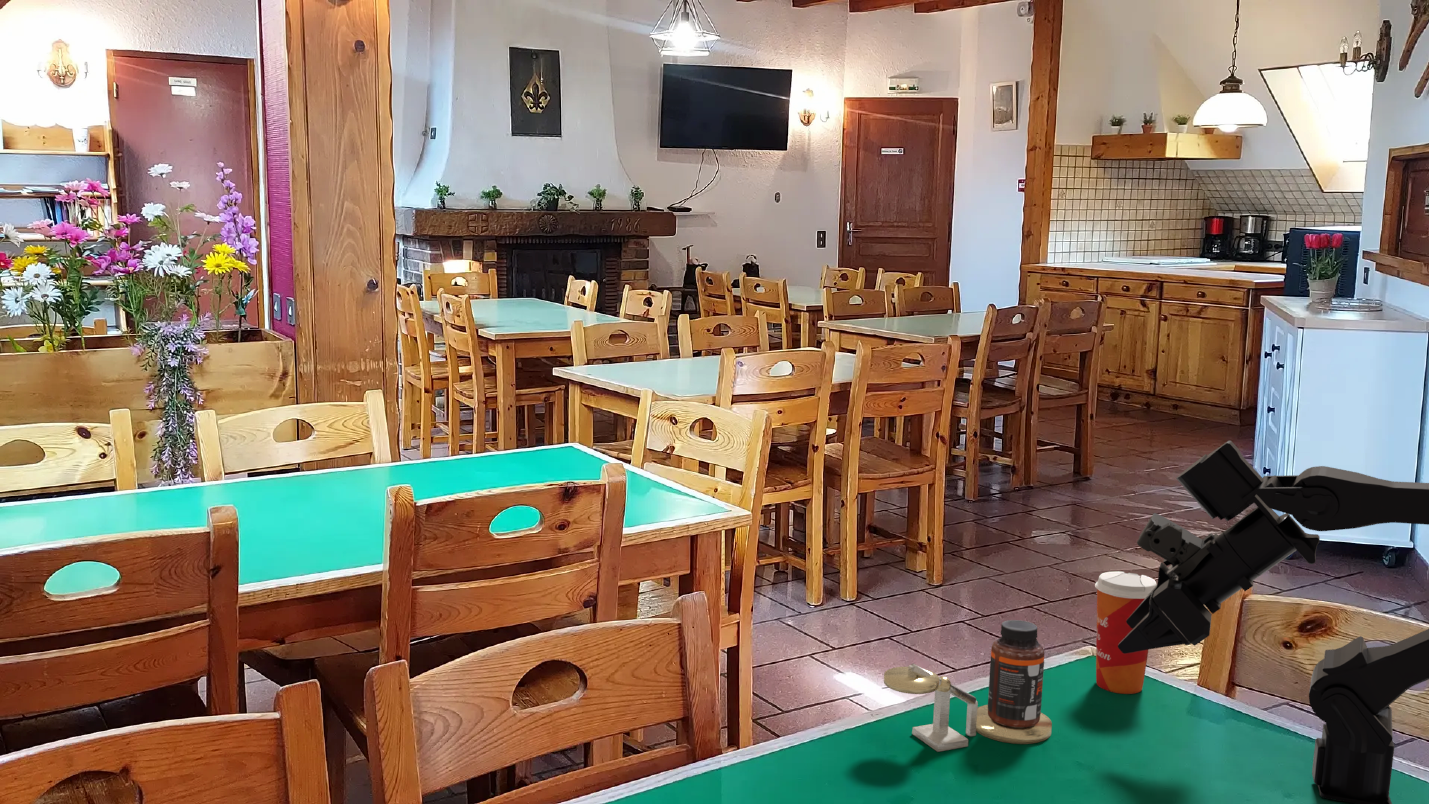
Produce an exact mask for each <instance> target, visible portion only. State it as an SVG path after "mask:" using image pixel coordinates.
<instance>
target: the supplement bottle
mask: <svg viewBox="0 0 1429 804" xmlns="http://www.w3.org/2000/svg"><path fill="white" fill-rule="evenodd" d="M1000 626H1001V628H1000V635H1001V636H1000V637H998V638H996V639H995V640H994V642H993V643H992V644H991V649H990V661H989V662H990V664H989V679H988V681H989V682H988V694H987V696H988V698H987V699H988V700H987V705H988V715H989V717H990V718H991V719H992V720H993V721H995V722H996V723H998V724H1000V725H1004V726H1009V727H1016V728H1027V727H1031V726H1034V725H1036V724H1037V723H1038V722H1039V720H1040V714H1041V713H1042V712H1041V711H1042V701H1043V700H1042V699H1043V683H1044V670H1045V669H1044V668H1045V649H1044V647H1043V645H1042V644H1040V643H1039V641H1038V626H1037V625H1036V624H1034V623H1032V622H1030V621H1026V620H1020V619H1011V620H1010V619H1008V620H1005V621H1002V622H1001V625H1000Z"/></svg>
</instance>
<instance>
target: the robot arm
mask: <svg viewBox="0 0 1429 804" xmlns="http://www.w3.org/2000/svg"><path fill="white" fill-rule="evenodd" d="M1175 479H1176V480H1177V482H1179V483H1180V485H1181V486H1182V487H1183V488H1184V489H1185V491H1186V492H1187V493H1188V494H1189V495H1190V496H1191V497H1192V498H1193V500H1194V501H1195V502H1196V503H1197V504H1198V505H1199V506H1200V507H1201V508H1202V509H1203V511H1204V512H1205V513H1206V514H1207V515H1208V516H1209V517H1210V519H1211V520H1213V519H1216V518H1218V520H1220V521H1222V520H1224V519H1225V521H1226V522H1229V521H1231V520H1233V519H1234V518H1236V517H1237V516H1238V515H1240V514H1241V513H1242V512H1244V511H1245V510H1246V509H1248V508H1249V507H1251V505H1253V504H1255V505H1256V506H1257V507H1256V508H1254V509H1253V510H1252V511H1250V512H1249V513H1247V514H1246V515H1245V516H1243V517H1241V518H1240V519H1239V520H1238V521H1237V522H1235V523H1233V524H1232V525H1231V526H1229V527H1228V528H1227V529H1225V530H1224V531H1222V532H1221V533H1219V534H1218V533H1217V532H1215V533H1214V534H1213V533H1212V532H1211V533H1209V534H1208V535H1206V536H1205V537H1204V538H1201V537H1199V536H1197V535H1195V534H1193V533H1192V532H1191V531H1190V530H1188V529H1186V528H1184V527H1183V526H1181V525H1179V524H1177V523H1175V522H1173V521H1172V520H1170V519H1168V518H1167V517H1165V516H1163V515H1161V514H1159V513H1156V512H1155V513H1154V512H1153V514H1152V515H1151V517H1150V519H1149V520H1148V522H1147V523H1146V525H1145V527H1144V528H1143V529H1142V531H1141V532H1140V535H1139V536H1138V540H1137V541H1136V544H1137V546H1138V547H1140V548H1142V549H1143V550H1145V551H1146V552H1152V553H1153V554H1155V555H1157V556H1159V557H1160V558H1162V559H1163V561H1162V562H1160V564H1159V568H1158V572H1157V573H1158V575H1157V583H1156V584H1157V585H1156V586H1155V588H1154V589H1153V590H1152V591H1151V592H1150V593H1149V595H1148V596H1147V597H1146V598H1145V599H1144V600H1143V602H1142V603H1141V604H1140V605H1139V606H1138V607H1137V608H1136V610H1135V611H1134V612H1133V613H1132V614H1131V615H1130V616H1129V618H1128V619H1127V620H1126V623H1127V624H1128V625H1129V626H1130V627H1131V628H1133V629H1132V630H1131V631H1130V632H1129V633H1128V634H1127V636H1126V637H1125V638H1124V639H1123V640H1122V641H1121V642H1120V643H1119V644H1118V648H1119V649H1120V650H1121V652H1122V653H1124V654H1126V653H1132V652H1138V651H1143V650H1148V651H1149V650H1154V649H1159V648H1160V649H1161V648H1167V647H1174V646H1181V645H1184V646H1189V645H1192V646H1197V645H1198V644H1199V643H1201V642H1202V641H1204V640H1205V639H1207V638H1208V637H1210V635H1211V627H1212V626H1211V625H1212V624H1211V623H1212V615H1213V614H1215V613H1217V612H1218V611H1220V610H1221V606H1222V603H1223V602H1225V601H1226V600H1227V599H1229V598H1231V597H1232V596H1233V595H1235V594H1236V593H1238V592H1239V591H1241V590H1243V591H1244V592H1247V591H1248V590H1249V589H1251V588H1253V587H1254V581H1255V580H1256V579H1258V578H1259V577H1260V576H1262V575H1263V574H1265V573H1266V572H1268V571H1269V570H1271V569H1272V568H1274V567H1275V566H1276V565H1278V564H1279V563H1281V562H1282V561H1283V560H1285V559H1286V558H1288V557H1289V556H1291V555H1292V554H1293V553H1295V552H1296V551H1297V552H1298V553H1299V554H1300V556H1301V557H1302V558H1303V559H1304V560H1305V561H1306V563H1308V564H1309V565H1313V564H1315V563H1316V559H1317V558H1316V557H1317V556H1316V552H1317V547H1318V545H1319V543H1320V535H1319V534H1316V533H1315V534H1311V533H1307V532H1305V531H1304V530H1303V528H1305V529H1307V530H1310V531H1315V532H1330V531H1340V530H1352V529H1359V528H1364V527H1368V526H1370V527H1371V526H1375V525H1381V524H1390V523H1391V524H1393V523H1396V524H1413V525H1427V526H1429V482H1415V481H1414V482H1413V481H1395V480H1394V481H1393V480H1388V479H1382V478H1378V477H1375V476H1371V475H1368V474H1363V473H1360V472H1357V471H1352V470H1351V471H1350V470H1345V469H1341V468H1337V467H1332V466H1326V465H1318V466H1312V467H1308V468H1305V470H1303V471H1302V472H1301V473H1299V474H1296V475H1294V474H1293V475H1265V476H1261V475H1260V474H1259V472H1258V471H1257V470H1256V469H1255V468H1254V467H1253V466H1252V464H1250V463H1249V461H1248V460H1247V459H1246V457H1244V456H1243V454H1242V453H1241V451H1240V449H1239V447H1238V446H1236V445H1235V443H1233V441H1232V440H1227V441H1226V442H1224V443H1223V444H1222V445H1221V446H1219V447H1217V448H1215V449H1214V450H1213V451H1212V452H1210V453H1209V454H1207V453H1206V454H1204V455H1203V456H1201V457H1200V458H1199V459H1197V460H1196V461H1195V462H1194V463H1192V464H1191V465H1190V466H1188V467H1187V468H1186V469H1185V470H1183V471H1182V472H1181V473H1180V474H1179V475H1178V476H1177V477H1175ZM1275 511H1277V512H1281V513H1283V514H1281V515H1279V514H1278V513H1277V512H1275ZM1295 520H1296V521H1295ZM1297 522H1298V523H1299V524H1298V523H1297ZM1300 525H1301V526H1302V527H1303V528H1302V527H1301V526H1300ZM1426 681H1429V628H1428V629H1425V630H1423V631H1420V632H1418V633H1416V634H1413V635H1412V636H1409V637H1407V638H1404V639H1402V640H1400V641H1397V642H1394V643H1392V644H1389V645H1385V646H1376V647H1375V646H1373V647H1368V646H1367V643H1366V641H1365V639H1364V637H1363V636H1358V637H1356V638H1354V639H1352V640H1350V642H1348V643H1347V644H1345V645H1343V646H1342V647H1338V648H1335V649H1333V648H1332V649H1325V651H1324V655H1323V659H1320V661H1318V662H1317V663H1316V664H1315V666H1314V668H1313V670H1312V674H1311V678H1310V686H1309V691H1308V699H1309V702H1308V703H1309V705H1310V707H1311V710H1312V711H1313V713H1314V714H1315V716H1316V717H1317V718H1319V720H1321V721H1323V724H1322V734H1321V737H1317V738H1315V741H1314V742H1315V743H1314V750H1313V759H1312V761H1313V762H1312V768H1311V769H1312V770H1311V772H1312V773H1311V775H1312V778H1313V779H1312V780H1313V782H1314V784H1315V785H1316V786H1317V789H1318V791H1319V796H1320V797H1321V798H1323V799H1327V800H1333V801H1340V802H1345V803H1351V804H1393V803H1392V800H1391V798H1390V790H1391V788H1390V787H1391V780H1392V773H1393V772H1392V771H1393V763H1394V753H1395V747H1396V746H1395V743H1394V741H1393V737H1394V736H1393V709H1392V708H1391V704H1393V703H1394V702H1395V701H1396V700H1398V698H1400V697H1401V696H1402V695H1403V694H1404V693H1406V691H1407V690H1409V689H1410V688H1412V687H1415V686H1416V685H1418V684H1421V683H1423V682H1426Z"/></svg>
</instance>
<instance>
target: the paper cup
mask: <svg viewBox="0 0 1429 804" xmlns="http://www.w3.org/2000/svg"><path fill="white" fill-rule="evenodd" d="M1157 584H1158V583H1157V581H1156V580H1155V579H1154V578H1153V577H1149V576H1148V575H1145V574H1141V575H1139V574H1138V573H1133V572H1128V573H1126V572H1125V571H1118V570H1117V571H1106V572H1103V573H1100V575H1099V576H1098V579H1097V581H1095V584H1094V587H1095V589H1096V592H1097V593H1096V633H1095V634H1096V635H1095V636H1096V641H1095V642H1096V644H1095V645H1096V646H1095V649H1096V650H1095V651H1096V652H1095V658H1096V659H1095V676H1096V677H1095V679H1096V680H1095V681H1096V682H1095V683H1096V685H1097V686H1098V687H1099V688H1100V689H1102V690H1105V691H1107V692H1111V693H1115V694H1121V695H1122V694H1123V695H1134V694H1138V693H1141V692H1142V690H1143V686H1144V682H1145V674H1146V670H1147V669H1146V668H1147V663H1148V656H1149V655H1148V654H1149V650H1143V651H1138V652H1132V653H1126V654H1124V653H1122V652H1121V650H1120V649H1119V648H1118V644H1119V643H1120V642H1121V641H1122V640H1123V639H1124V638H1125V637H1126V636H1127V634H1128V633H1129V632H1130V631H1131V630H1132V629H1133V628H1131V627H1130V626H1129V625H1128V624H1127V623H1126V620H1127V619H1128V618H1129V616H1130V615H1131V614H1132V613H1133V612H1134V611H1135V610H1136V608H1137V607H1138V606H1139V605H1140V604H1141V603H1142V602H1143V600H1144V599H1145V598H1146V597H1147V596H1148V595H1149V593H1150V592H1151V591H1152V590H1153V589H1154V588H1155V586H1156V585H1157Z"/></svg>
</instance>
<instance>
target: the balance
mask: <svg viewBox="0 0 1429 804" xmlns="http://www.w3.org/2000/svg"><path fill="white" fill-rule="evenodd" d="M883 684H884V685H885V686H886V687H887V688H889V689H890V690H893V691H895V692H899V693H901V694H902V693H903V694H910V695H924V694H930V693H933V692H934V700H933V701H934V703H933V719H932V723H931V724H930V723H929V724H925V725H919V726H912V731H911V734H912V735H913V736H914V737H916V738H917V739H919V740H920V741H921V742H923V743H924V744H926V745H928V746H929V747H930V748H932V749H933V750H934V751H936V752H937V753H938V752H944V751H949V750H956V749H961V748H966V747H969V739H968V738H967V737H965V736H964V735H962V733H961V734H960V733H959V732H958V731H956V730H955V729H953V728H952V727H950V726H949V721H950V719H949V718H950V717H949V715H950V703H951V702H950V701H951V695H952V696H954V697H955V698H958V699H959V700H961V701H962V702H964V703H966V704H967V705H966V706H967V707H966V724H965V727H966V728H965V734H966V736H969V737H975V736H977V733H978V734H980V735H981V736H983V737H985V738H988V739H991V740H994V741H998V742H1002V743H1008V744H1014V745H1015V744H1016V745H1028V744H1029V745H1030V744H1037V743H1041V742H1044V741H1046V740H1048V739H1049V738H1050V737H1051V735H1052V727H1053V723H1052V720H1051V719H1050V718H1049V716H1047V715H1046V714H1044V713H1043V712H1041V714H1040V720H1039V722H1038V723H1037V724H1036V725H1034V726H1031V727H1027V728H1016V727H1009V726H1004V725H1000V724H998V723H996V722H995V721H993V720H992V719H991V718H990V717H989V715H988V704H984V705H981V706H978V705H979V704H978V703H979V702H978V701H977V698H976V697H975V696H974V695H972V694H970V693H969V692H966V691H965V690H963V689H961V688H959V687H958V686H956V685H953V684H952V682H951V680H950V679H949V677H947V676H943V675H942V676H939V675H938V674H936V673H935V672H933V671H931V670H929V669H925V668H923V667H921V666H919V665H917V664H915V663H911V664H910V665H908V666H896V667H892V668H889V669H886V671H884V674H883Z"/></svg>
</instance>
